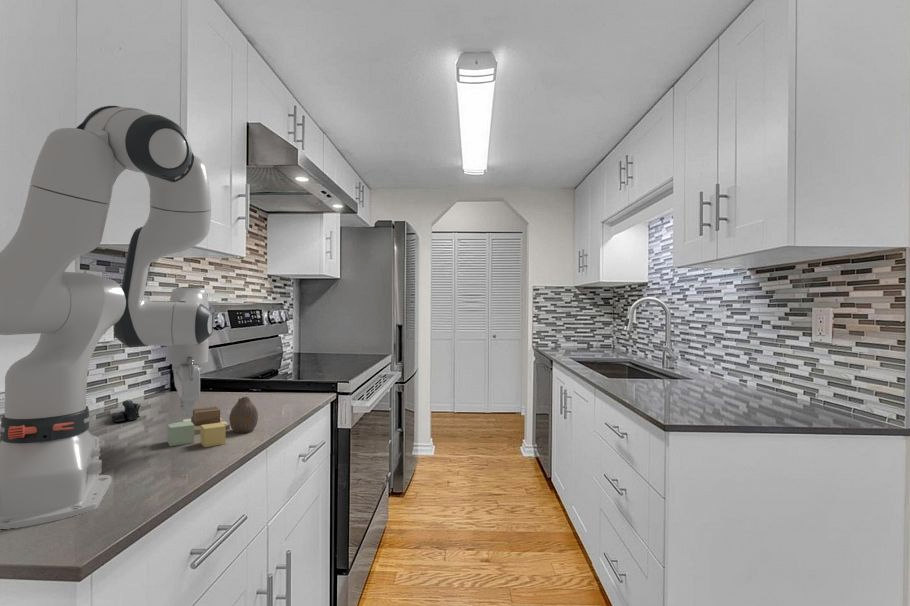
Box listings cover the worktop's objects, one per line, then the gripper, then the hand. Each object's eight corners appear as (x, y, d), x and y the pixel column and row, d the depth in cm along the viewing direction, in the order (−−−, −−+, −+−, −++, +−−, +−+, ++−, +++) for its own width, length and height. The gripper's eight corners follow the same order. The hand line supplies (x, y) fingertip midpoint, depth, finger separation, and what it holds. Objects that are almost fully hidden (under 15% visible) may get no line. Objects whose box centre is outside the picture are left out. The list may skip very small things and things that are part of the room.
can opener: (141, 422, 139) (141, 402, 139) (110, 425, 136) (111, 405, 136) (141, 410, 154) (141, 392, 154) (114, 413, 151) (114, 394, 151)
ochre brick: (225, 445, 117) (225, 426, 117) (204, 448, 115) (204, 428, 115) (220, 440, 121) (221, 422, 121) (200, 443, 118) (200, 425, 118)
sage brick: (193, 443, 118) (194, 424, 118) (170, 447, 115) (170, 427, 115) (190, 439, 122) (190, 420, 122) (166, 442, 119) (167, 423, 119)
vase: (246, 435, 125) (246, 401, 125) (223, 433, 127) (223, 399, 127) (263, 429, 132) (263, 396, 132) (241, 427, 134) (241, 394, 134)
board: (229, 429, 131) (229, 425, 131) (191, 434, 126) (191, 430, 126) (217, 419, 142) (217, 415, 142) (182, 424, 137) (182, 419, 137)
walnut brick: (220, 422, 134) (220, 409, 134) (195, 426, 130) (195, 412, 130) (215, 418, 138) (215, 406, 138) (191, 421, 135) (191, 408, 135)
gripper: (208, 360, 112) (206, 421, 112) (197, 350, 129) (195, 403, 129) (176, 361, 108) (174, 424, 108) (169, 351, 125) (167, 405, 125)
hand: (185, 412), depth 119 cm, fingers open, 8 cm apart
